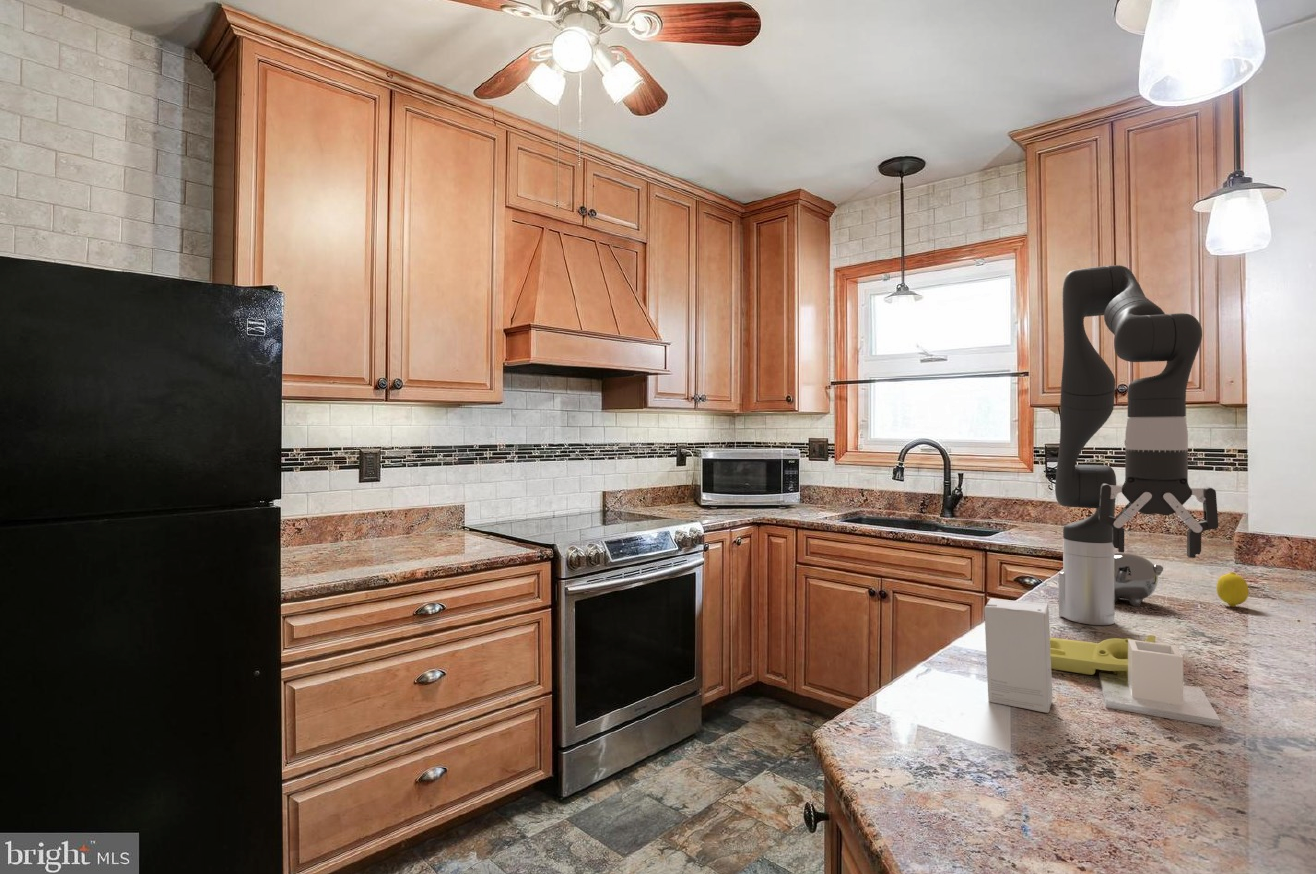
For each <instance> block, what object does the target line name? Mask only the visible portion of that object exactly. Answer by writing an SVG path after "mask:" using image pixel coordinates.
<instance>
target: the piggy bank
mask: <svg viewBox="0 0 1316 874" xmlns="http://www.w3.org/2000/svg"><path fill="white" fill-rule="evenodd" d="M1163 572H1164V566H1162V565H1161V564H1154V563H1153V562H1152V561H1150V560H1149V559H1147V558H1145V557H1144V556H1140V555H1138V554H1134V553H1128V552H1124V553H1123V552H1114V604H1115V603H1117V601H1118V600H1119V599H1123V600H1127V601H1128V602H1129V603H1130V605H1131V606H1134V607H1140V606H1141V602H1143V601H1144V599H1147V598H1149V597H1150V596H1152V595H1153V594H1154V593H1155V591H1156V589H1157V587H1158V585H1159V576H1161V574H1162V573H1163Z"/></svg>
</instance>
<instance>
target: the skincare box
mask: <svg viewBox="0 0 1316 874" xmlns="http://www.w3.org/2000/svg"><path fill="white" fill-rule="evenodd" d="M983 609H984V629H985V651H986V652H985V654H986V656H985V657H986V675H987V676H986V677H987V694H988V695H987V697H988V698H987V699H988V703H993V704H999V705H1005V706H1010V707H1015V708H1021V709H1026V710H1030V711H1035V712H1039V713H1040V712H1041V713H1045V714H1049V712H1050V709H1051V706H1052V702H1053V677H1052V669H1051V653H1050V638H1051V634H1050V632H1051V631H1050V614H1049V612H1050V611H1049V604H1048V603H1043V602H1035V601H1034V602H1033V601H1032V602H1031V601H1030V602H1029V601H1020V600H1011V599H1010V600H1009V599H1002V598H993V597H991V598H990V599H989V600H988V602H987V603H986V605H985V606H984V608H983Z"/></svg>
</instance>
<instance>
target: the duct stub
mask: <svg viewBox="0 0 1316 874" xmlns="http://www.w3.org/2000/svg"><path fill="white" fill-rule="evenodd" d="M1099 682H1100V687H1101V691H1102V696H1103V697H1102V698H1103V701H1104V704H1105V705H1104V706H1105V708H1107V709H1114V710H1119V711H1124V712H1130V713H1135V714H1136V713H1137V714H1141V715H1148V716H1153V717H1159V718H1165V719H1170V720H1176V721H1182V722H1186V723H1187V722H1188V723H1193V724H1198V725H1199V724H1200V725H1203V726H1204V725H1206V726H1210V727H1216V728H1221V719H1220V718H1219V716H1218V714H1217V712H1216V711H1215V709H1214V708H1213V705H1212V704H1211V702H1210V701H1209V699H1208V697H1207V695H1206V693H1205V692H1204V691H1203V689H1202V687H1199V686H1198V687H1197V686H1190V685H1184V684H1183V705H1178V704H1172V703H1165V702H1159V701H1153V700H1147V699H1141V698H1135V697H1132V695H1131V692H1130V689H1129V686H1128V677H1126V676H1120V675H1117V674H1114V673H1113V674H1112V673H1105V672H1099Z"/></svg>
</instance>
